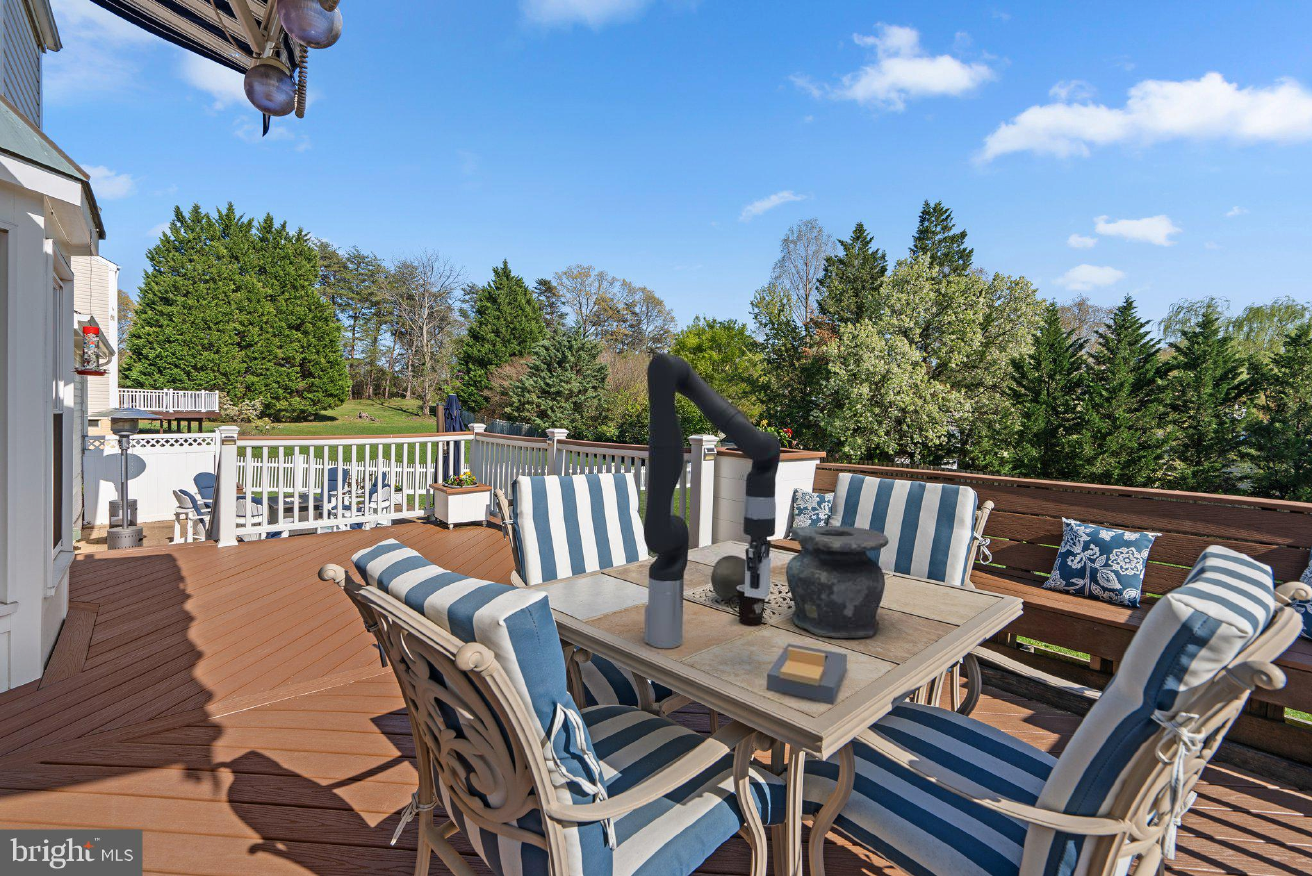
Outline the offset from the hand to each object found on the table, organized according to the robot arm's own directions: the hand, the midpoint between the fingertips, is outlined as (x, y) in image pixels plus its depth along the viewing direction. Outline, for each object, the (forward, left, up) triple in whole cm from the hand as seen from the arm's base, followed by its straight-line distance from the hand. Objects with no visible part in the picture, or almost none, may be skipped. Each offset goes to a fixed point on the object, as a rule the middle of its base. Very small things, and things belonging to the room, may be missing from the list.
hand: (757, 585), depth 139 cm
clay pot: (+12, +39, -19) cm, 45 cm away
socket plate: (+13, -2, -19) cm, 23 cm away
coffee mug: (-11, +28, -19) cm, 36 cm away
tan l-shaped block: (+13, -9, -15) cm, 22 cm away
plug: (0, 0, -2) cm, 2 cm away
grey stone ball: (-21, +45, -19) cm, 53 cm away
